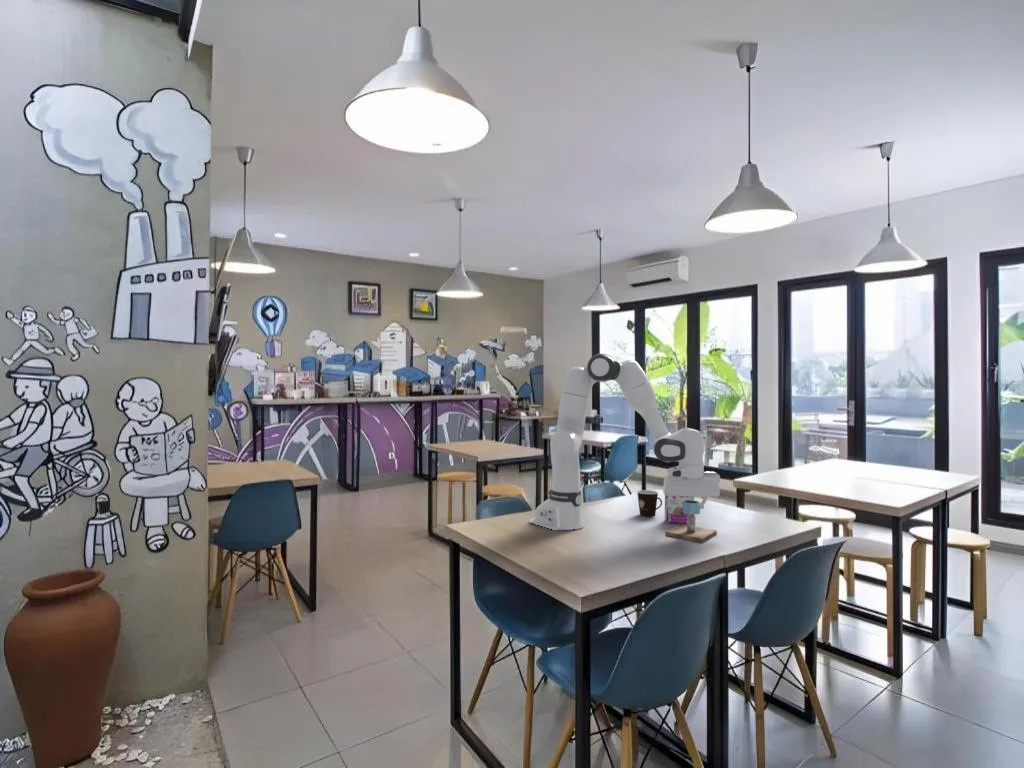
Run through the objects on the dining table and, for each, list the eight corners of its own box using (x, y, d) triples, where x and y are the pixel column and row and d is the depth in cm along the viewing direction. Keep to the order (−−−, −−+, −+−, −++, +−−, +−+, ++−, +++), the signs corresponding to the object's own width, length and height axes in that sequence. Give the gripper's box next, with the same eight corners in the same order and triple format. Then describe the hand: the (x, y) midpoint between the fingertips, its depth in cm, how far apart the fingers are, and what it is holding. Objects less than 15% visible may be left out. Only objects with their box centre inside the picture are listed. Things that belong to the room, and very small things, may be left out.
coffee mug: (634, 513, 235) (634, 490, 235) (653, 512, 236) (653, 490, 236) (643, 519, 223) (643, 495, 223) (663, 519, 224) (663, 495, 224)
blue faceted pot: (684, 514, 199) (684, 503, 199) (681, 510, 205) (681, 499, 205) (701, 514, 198) (701, 503, 198) (697, 510, 204) (697, 500, 204)
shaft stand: (665, 535, 201) (665, 514, 200) (680, 527, 211) (680, 507, 211) (702, 542, 191) (702, 520, 191) (716, 534, 202) (716, 513, 202)
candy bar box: (666, 523, 218) (666, 483, 218) (664, 520, 223) (664, 480, 223) (694, 524, 217) (694, 483, 217) (691, 521, 222) (692, 481, 222)
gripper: (717, 470, 203) (717, 507, 203) (662, 469, 206) (662, 505, 206) (722, 473, 197) (722, 511, 197) (665, 472, 199) (665, 509, 199)
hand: (691, 508), depth 201 cm, fingers closed on blue faceted pot, 6 cm apart
